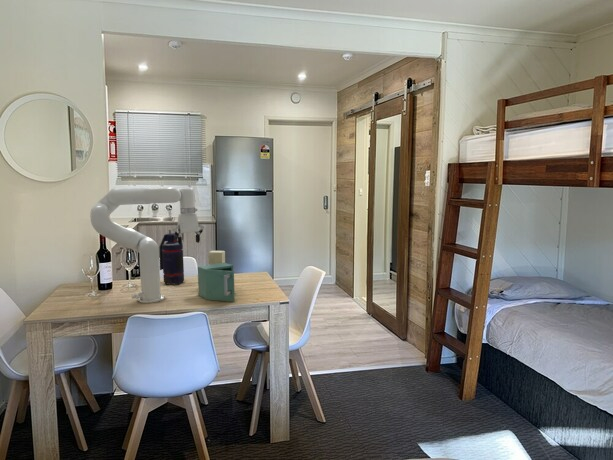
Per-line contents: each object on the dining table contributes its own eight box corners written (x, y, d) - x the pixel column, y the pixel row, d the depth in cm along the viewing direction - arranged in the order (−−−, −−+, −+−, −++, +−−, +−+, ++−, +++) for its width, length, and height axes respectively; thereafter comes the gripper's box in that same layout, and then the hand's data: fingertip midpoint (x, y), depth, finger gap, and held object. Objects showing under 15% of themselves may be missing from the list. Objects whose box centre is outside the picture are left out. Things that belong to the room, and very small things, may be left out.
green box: (229, 304, 221) (228, 273, 219) (200, 302, 226) (199, 271, 224) (234, 301, 226) (233, 271, 224) (207, 299, 231) (206, 269, 230)
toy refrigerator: (226, 285, 260) (225, 250, 258) (222, 288, 253) (221, 252, 251) (213, 285, 261) (211, 250, 259) (209, 288, 254) (207, 252, 251)
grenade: (187, 281, 273) (185, 232, 270) (179, 285, 262) (176, 235, 258) (166, 280, 275) (163, 232, 272) (157, 285, 264) (154, 234, 260)
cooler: (234, 294, 241) (233, 265, 239) (206, 299, 232) (205, 269, 230) (225, 290, 249) (224, 262, 247) (198, 295, 240) (197, 266, 238)
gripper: (200, 210, 243) (201, 241, 245) (169, 211, 233) (170, 244, 235) (205, 210, 237) (207, 242, 239) (174, 212, 227) (175, 245, 229)
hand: (189, 243), depth 237 cm, fingers open, 9 cm apart
